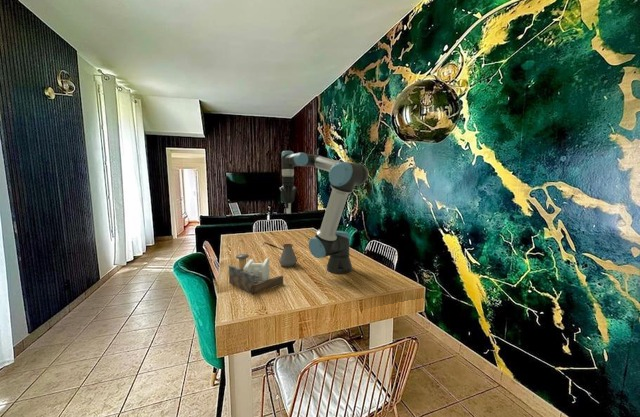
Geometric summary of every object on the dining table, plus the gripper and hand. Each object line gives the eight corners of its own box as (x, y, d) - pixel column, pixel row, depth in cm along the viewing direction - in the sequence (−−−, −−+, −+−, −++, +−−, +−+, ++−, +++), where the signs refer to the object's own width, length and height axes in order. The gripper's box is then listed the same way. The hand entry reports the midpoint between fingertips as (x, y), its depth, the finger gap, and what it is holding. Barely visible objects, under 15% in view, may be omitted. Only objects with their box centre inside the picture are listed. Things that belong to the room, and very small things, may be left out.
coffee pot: (297, 262, 171) (297, 239, 170) (296, 267, 160) (296, 243, 159) (265, 262, 170) (264, 240, 169) (261, 268, 159) (261, 244, 158)
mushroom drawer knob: (251, 272, 151) (250, 255, 151) (240, 275, 146) (239, 257, 146) (245, 269, 156) (244, 253, 155) (234, 272, 151) (233, 255, 150)
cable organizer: (265, 289, 127) (264, 265, 126) (243, 289, 127) (242, 266, 126) (269, 278, 142) (269, 257, 141) (250, 278, 142) (249, 257, 141)
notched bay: (283, 283, 134) (282, 266, 133) (252, 294, 121) (252, 275, 120) (259, 273, 149) (258, 258, 148) (229, 282, 136) (228, 265, 135)
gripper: (292, 176, 171) (292, 212, 173) (275, 176, 162) (276, 213, 164) (299, 176, 166) (300, 213, 168) (283, 175, 157) (284, 214, 159)
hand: (288, 213), depth 166 cm, fingers closed
